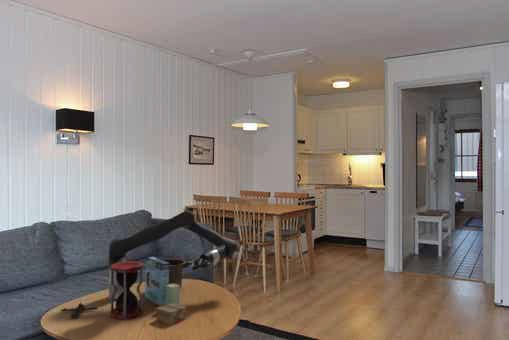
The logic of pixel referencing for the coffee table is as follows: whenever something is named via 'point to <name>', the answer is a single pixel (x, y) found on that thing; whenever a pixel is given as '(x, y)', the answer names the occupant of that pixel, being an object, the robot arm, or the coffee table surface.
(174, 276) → the plant pot
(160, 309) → the walnut base block
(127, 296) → the hourglass
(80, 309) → the brown crossed bar shape
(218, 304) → the coffee table surface
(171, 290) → the sage block
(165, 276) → the gum box
